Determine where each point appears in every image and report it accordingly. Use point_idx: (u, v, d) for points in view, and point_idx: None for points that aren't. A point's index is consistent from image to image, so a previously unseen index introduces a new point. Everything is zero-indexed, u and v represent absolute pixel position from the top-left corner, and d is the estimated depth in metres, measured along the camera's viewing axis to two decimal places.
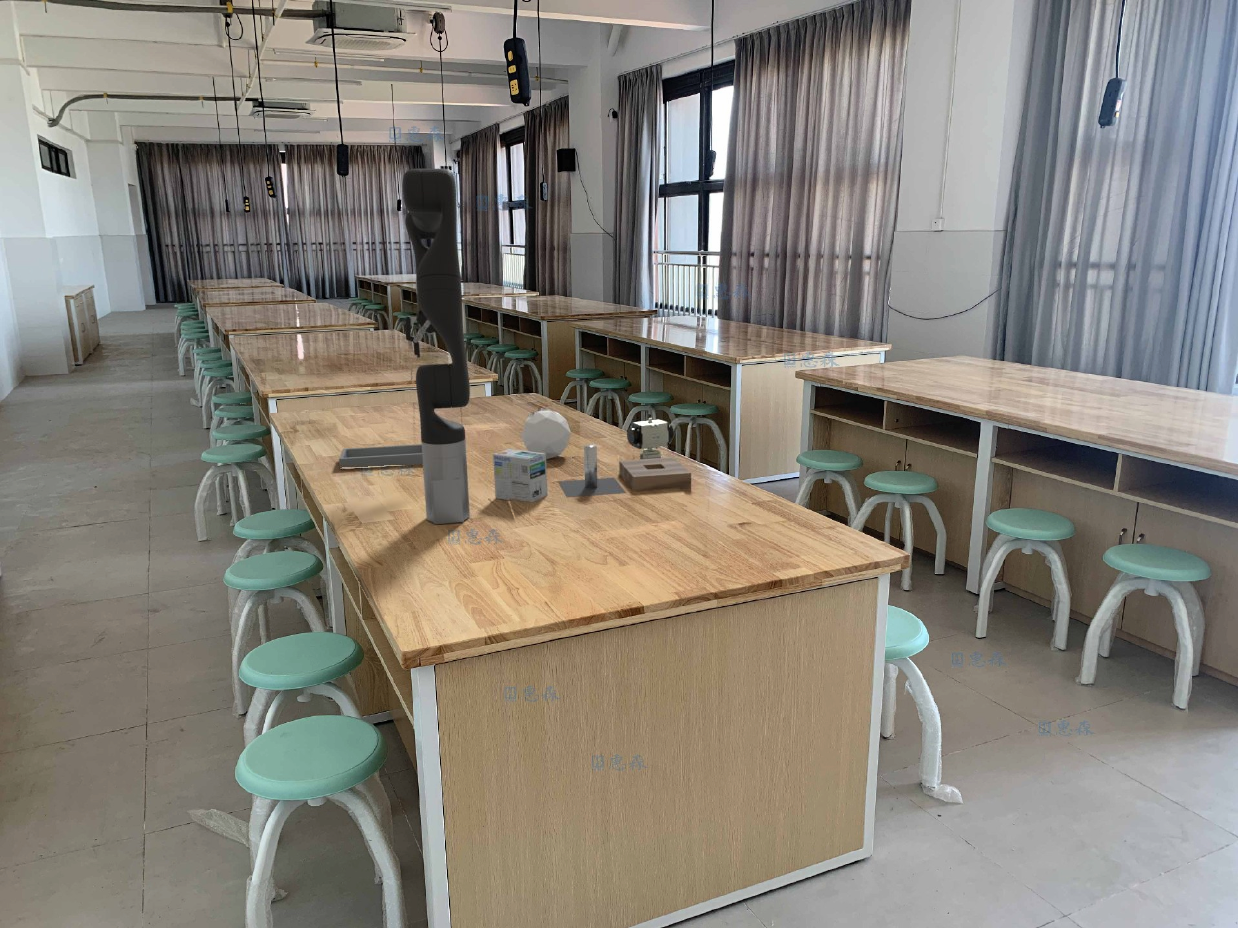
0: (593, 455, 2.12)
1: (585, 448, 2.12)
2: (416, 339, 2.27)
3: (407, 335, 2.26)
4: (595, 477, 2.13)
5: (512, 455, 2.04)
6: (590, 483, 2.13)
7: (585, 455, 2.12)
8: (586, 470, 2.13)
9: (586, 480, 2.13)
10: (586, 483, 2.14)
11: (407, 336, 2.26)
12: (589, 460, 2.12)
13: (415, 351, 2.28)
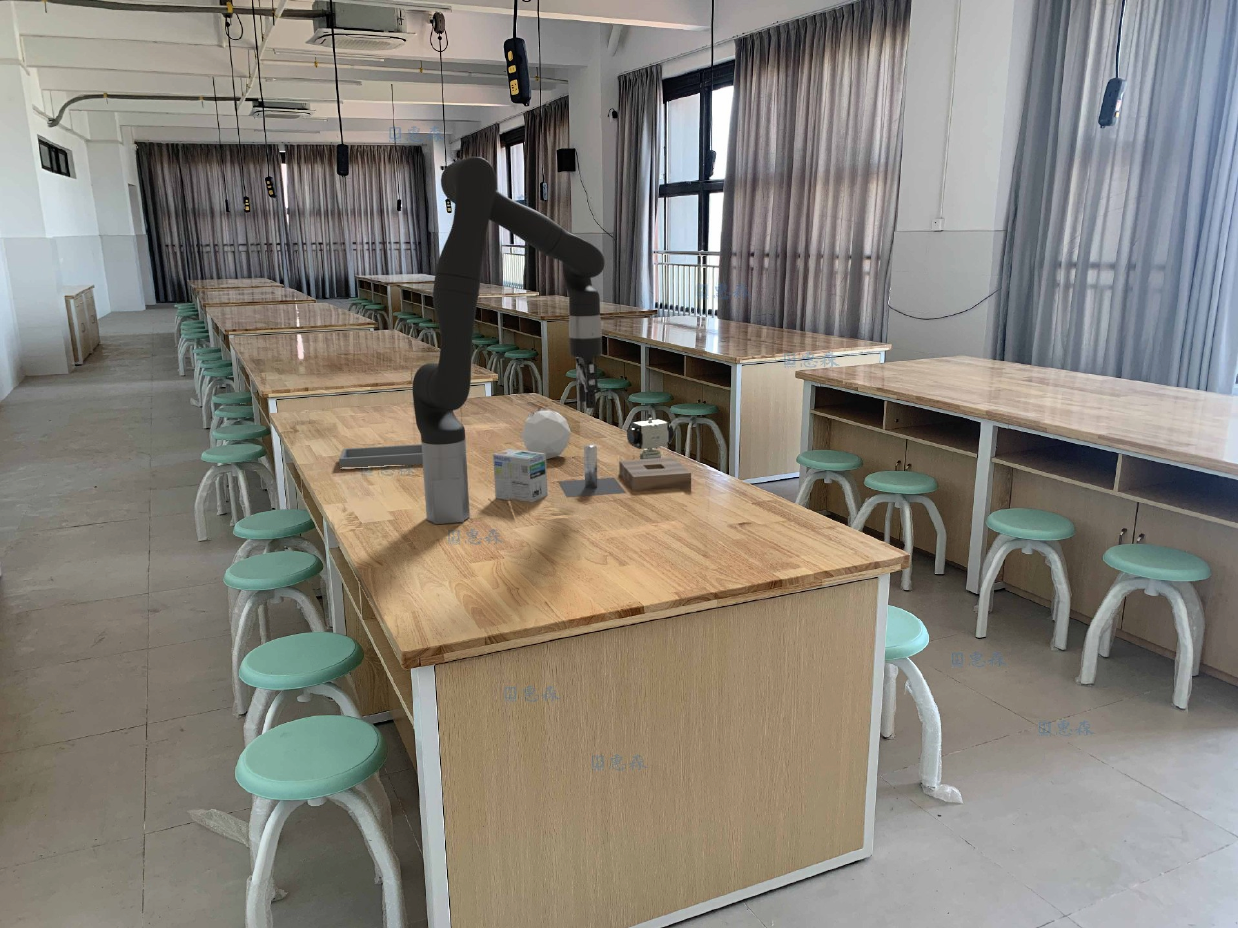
0: (593, 455, 2.12)
1: (585, 448, 2.12)
2: None
3: None
4: (595, 477, 2.13)
5: (512, 455, 2.04)
6: (590, 483, 2.13)
7: (585, 455, 2.12)
8: (586, 470, 2.13)
9: (586, 480, 2.13)
10: (586, 483, 2.14)
11: None
12: (589, 460, 2.12)
13: None
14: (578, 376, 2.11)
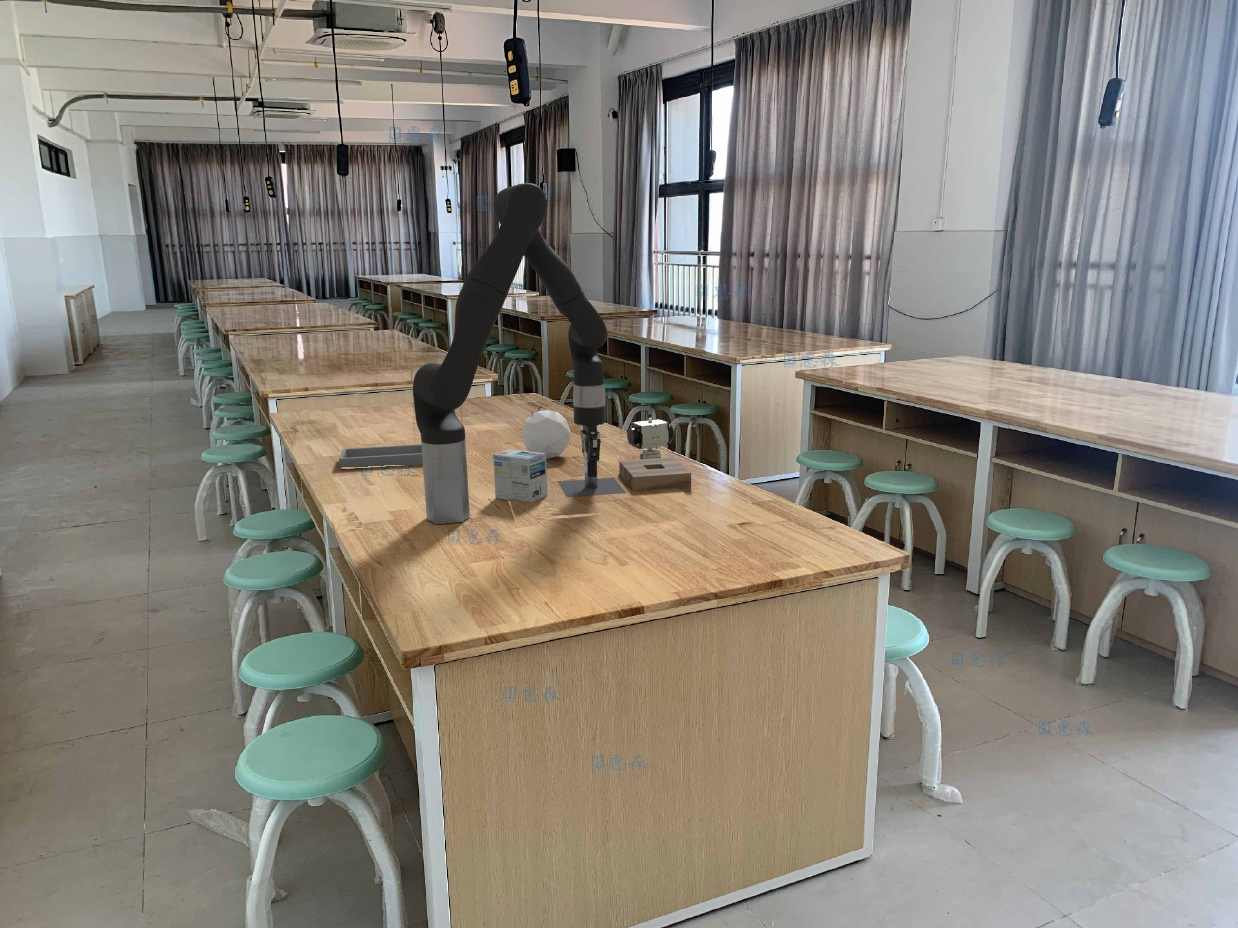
0: (593, 455, 2.12)
1: None
2: None
3: None
4: (595, 477, 2.13)
5: (512, 455, 2.04)
6: (590, 483, 2.13)
7: (585, 455, 2.12)
8: (586, 470, 2.13)
9: (586, 480, 2.13)
10: (586, 483, 2.14)
11: (598, 456, 2.09)
12: None
13: None
14: (583, 444, 2.13)
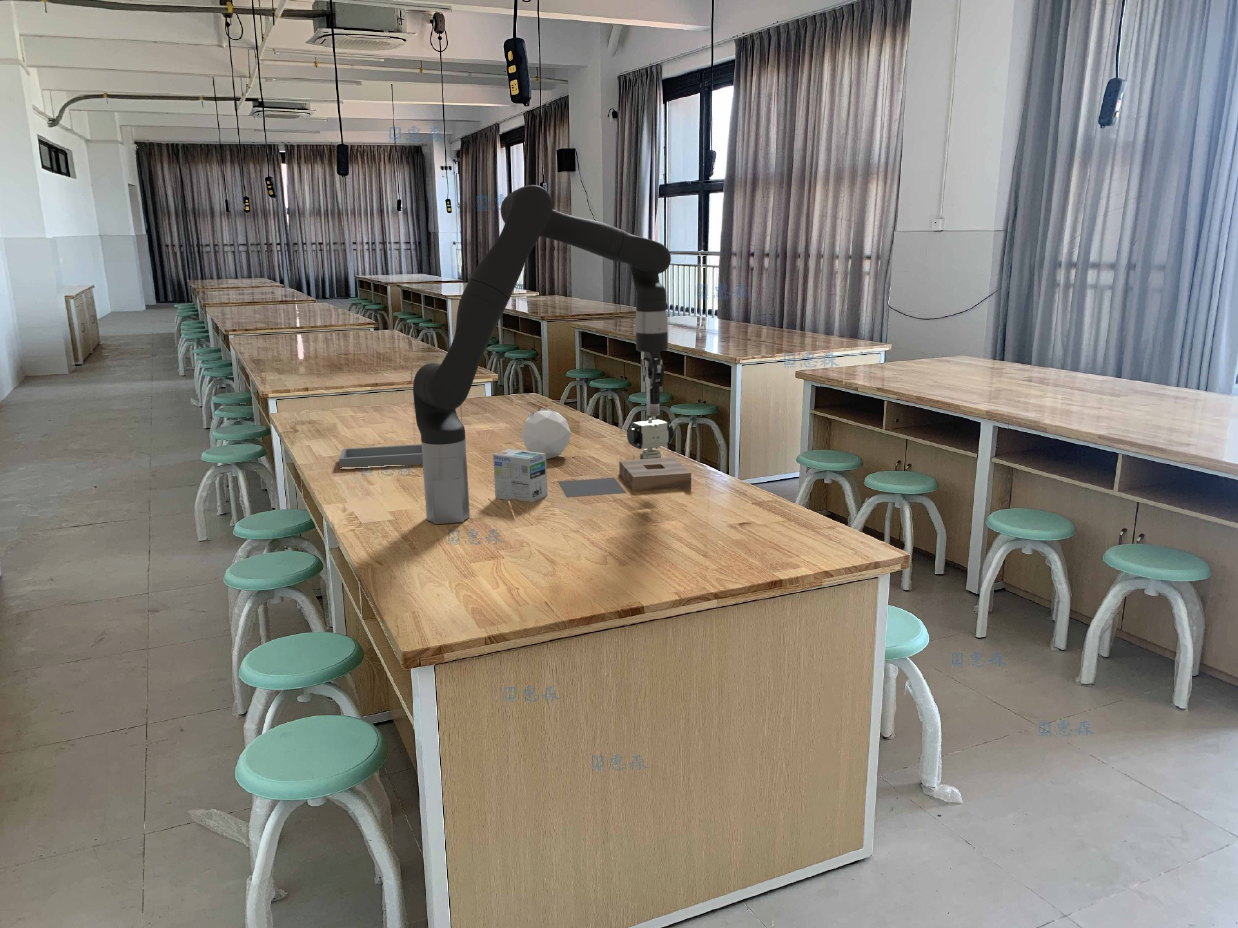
0: None
1: None
2: None
3: None
4: (657, 404, 2.15)
5: (512, 455, 2.04)
6: (652, 410, 2.14)
7: (647, 382, 2.13)
8: (648, 397, 2.14)
9: (648, 408, 2.15)
10: (648, 411, 2.15)
11: None
12: None
13: None
14: (645, 372, 2.14)
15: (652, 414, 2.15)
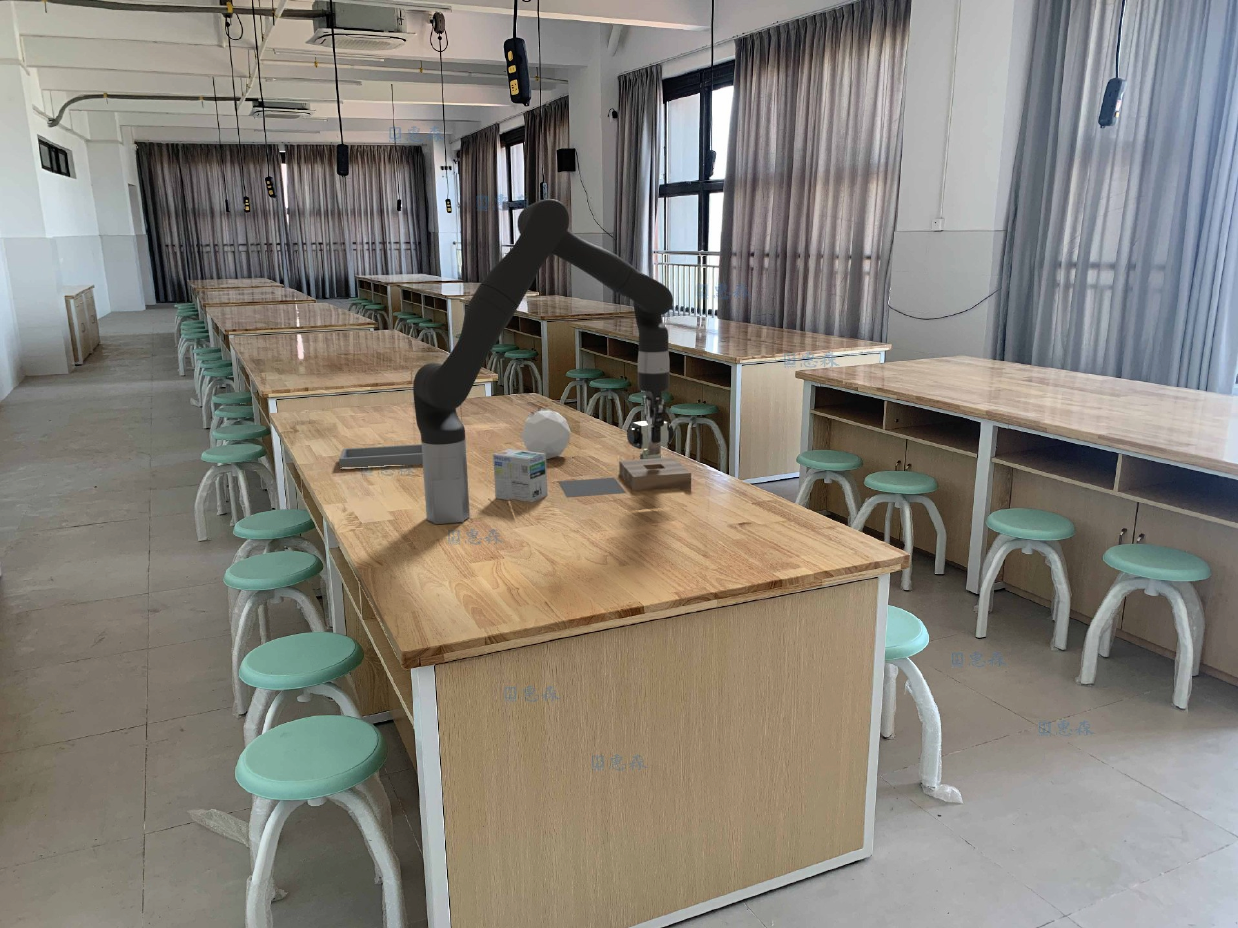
0: None
1: None
2: None
3: None
4: (658, 443, 2.17)
5: (512, 455, 2.04)
6: (654, 448, 2.17)
7: (649, 421, 2.15)
8: (650, 436, 2.16)
9: (650, 446, 2.17)
10: (649, 449, 2.17)
11: None
12: None
13: None
14: (646, 411, 2.17)
15: (653, 452, 2.17)
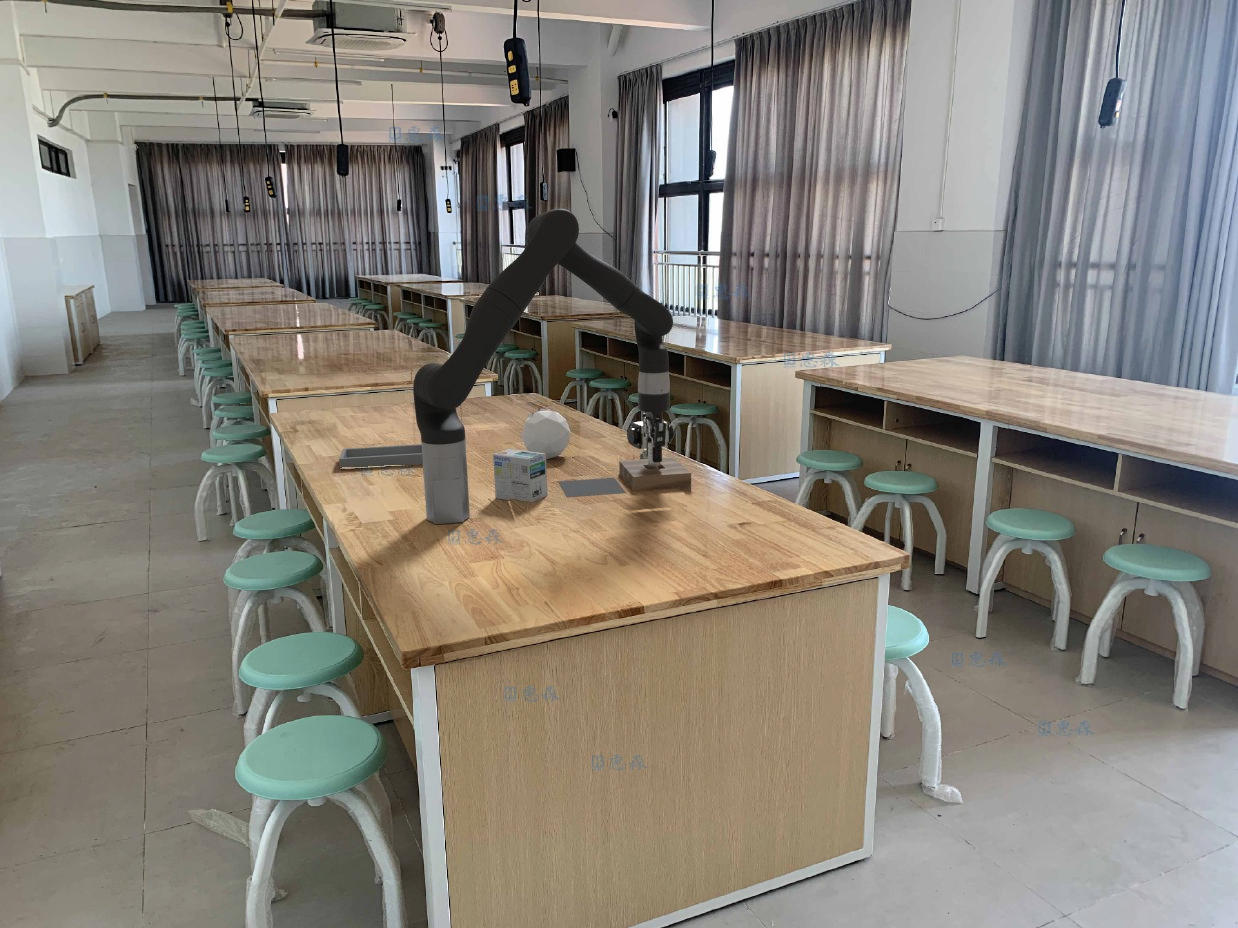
0: None
1: (649, 445, 2.17)
2: None
3: None
4: None
5: (512, 455, 2.04)
6: None
7: (649, 451, 2.17)
8: (650, 466, 2.18)
9: None
10: None
11: (664, 441, 2.13)
12: None
13: None
14: (646, 430, 2.18)
15: None
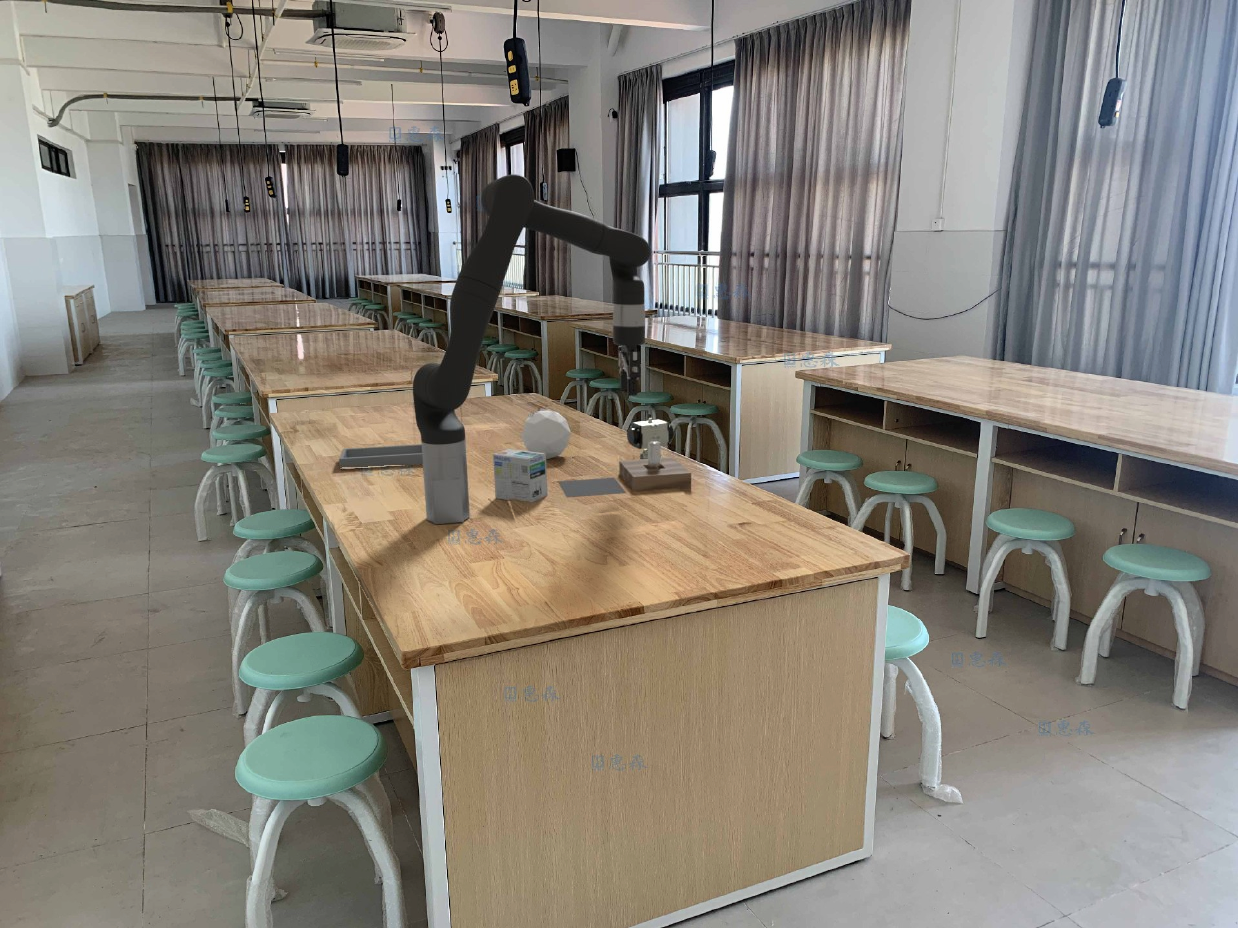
0: (657, 452, 2.17)
1: (649, 445, 2.17)
2: None
3: None
4: None
5: (512, 455, 2.04)
6: None
7: (649, 451, 2.17)
8: (650, 466, 2.18)
9: None
10: None
11: None
12: (653, 456, 2.17)
13: None
14: (620, 364, 2.15)
15: None
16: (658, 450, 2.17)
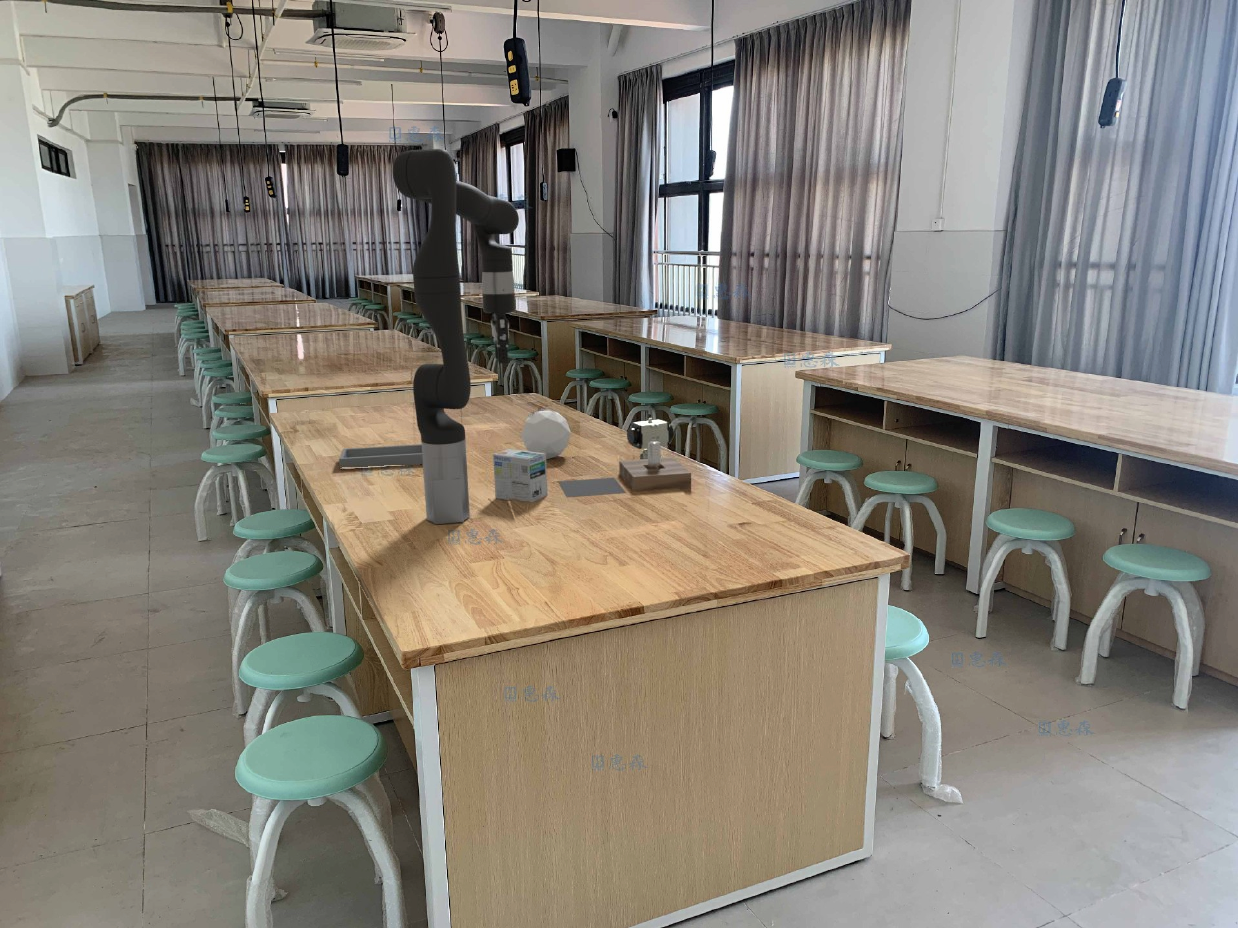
0: (657, 452, 2.17)
1: (649, 445, 2.17)
2: None
3: None
4: None
5: (512, 455, 2.04)
6: None
7: (649, 451, 2.17)
8: (650, 466, 2.18)
9: None
10: None
11: None
12: (653, 456, 2.17)
13: (506, 356, 2.09)
14: (493, 333, 2.15)
15: None
16: (658, 450, 2.17)
